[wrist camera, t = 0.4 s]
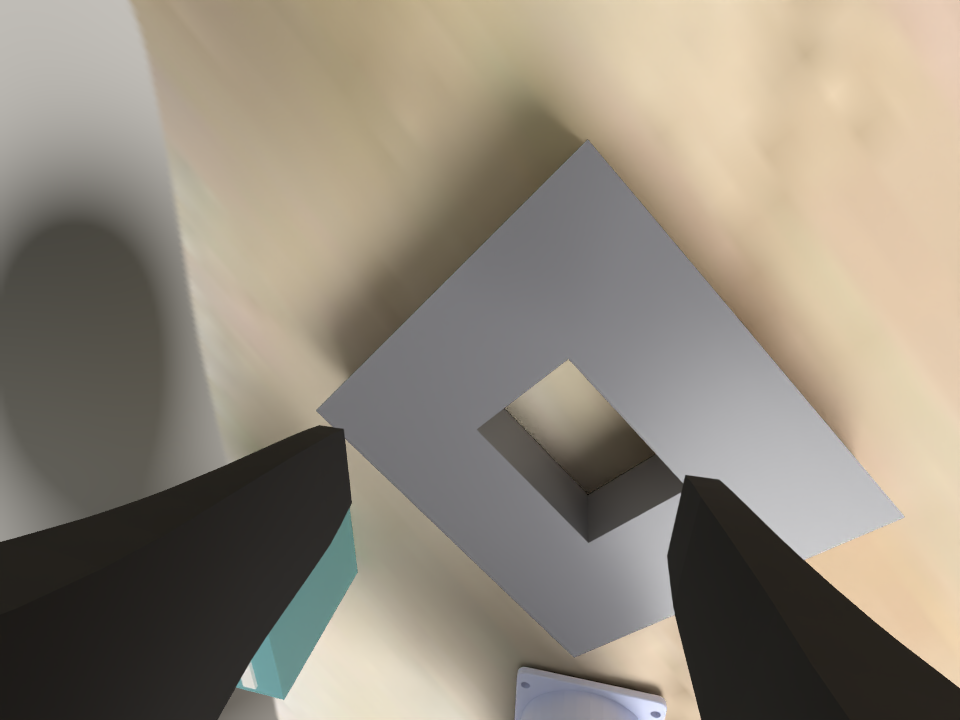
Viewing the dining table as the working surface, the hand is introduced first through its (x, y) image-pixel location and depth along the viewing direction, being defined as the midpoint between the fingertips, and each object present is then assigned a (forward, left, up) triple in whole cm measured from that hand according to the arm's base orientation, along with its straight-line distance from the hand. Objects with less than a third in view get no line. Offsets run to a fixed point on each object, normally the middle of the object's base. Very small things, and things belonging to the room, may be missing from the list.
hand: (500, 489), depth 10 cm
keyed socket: (-3, -2, -10) cm, 11 cm away
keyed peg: (-12, +11, -10) cm, 19 cm away
